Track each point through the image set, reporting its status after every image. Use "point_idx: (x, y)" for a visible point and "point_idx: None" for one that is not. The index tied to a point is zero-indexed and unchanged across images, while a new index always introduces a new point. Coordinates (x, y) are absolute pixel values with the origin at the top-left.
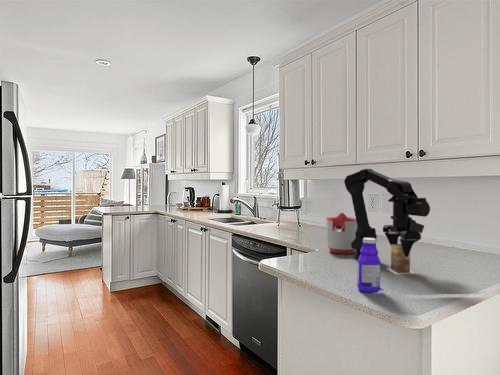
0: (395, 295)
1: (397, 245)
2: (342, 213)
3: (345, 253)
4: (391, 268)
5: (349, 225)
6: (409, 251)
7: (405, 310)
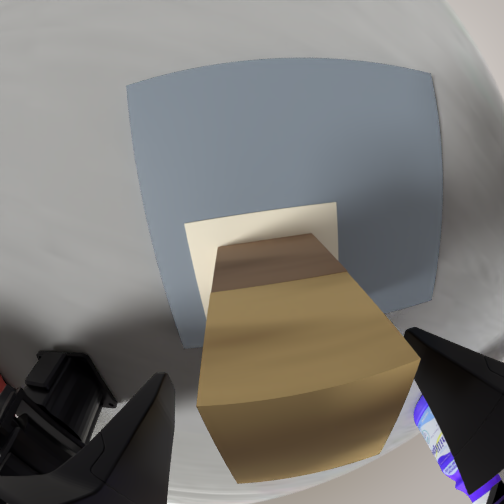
0: (476, 342)
1: (312, 460)
2: None
3: (5, 384)
4: None
5: None
6: (456, 349)
7: None
